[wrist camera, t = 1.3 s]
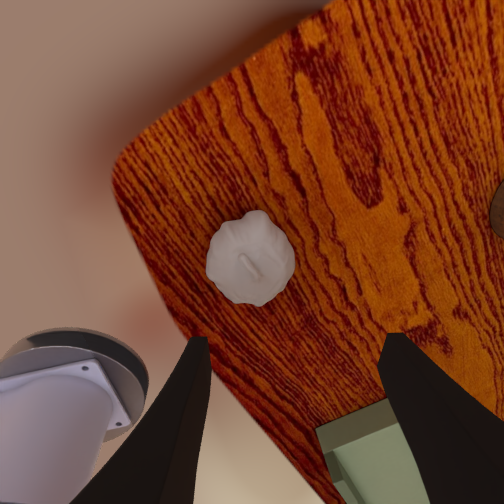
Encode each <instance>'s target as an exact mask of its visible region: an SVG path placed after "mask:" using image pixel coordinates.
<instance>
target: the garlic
mask: <svg viewBox="0 0 504 504" xmlns="http://www.w3.org/2000/svg"><path fill="white" fill-rule="evenodd" d="M294 269H295V256H294V250H293V248H292V246H291V244H290V243H289V242H288V239H287V237H286V235H285V233H284V232H283V231H282V230H280V229H279V228H278V227H277V226H276V225H274V224H273V223H272V221H271V220H270V219H269V216H268V215H267V214H266V213H265V212H264V211H262V210H255V211H250V212H247V213H246V214H245V216H244V217H243V218H242V219H240V220H234V221H226V222H224V223H223V224H222V225H221V228H220V230H218V231H217V232H216V233H215V234H214V235H213V237H212V239H211V241H210V249H209V251H208V253H207V264H206V275H207V277H208V278H209V279H210V280H212V281H213V282H215V285H216V287H217V288H218V289H219V290H220V291H221V292H223V294H224V295H225V296H226V297H227V298H229V299H230V300H231V301H232V302H234V303H236V304H239V303H249V304H254V305H255V306H262V305H264V304H265V303H266V302H268V301H270V300H272V299H273V298H274V297H275V296H276V295H277V294H278V293H279V292H281V291H283V290H284V288H285V286H286V284H287V282H288V280H289V279H290V278H291V276H292V275H293V272H294Z"/></svg>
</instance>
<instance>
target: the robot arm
mask: <svg viewBox="0 0 504 504" xmlns="http://www.w3.org/2000/svg"><path fill="white" fill-rule="evenodd" d="M85 366H87V367H85ZM377 368H378V371H379V375H380V378H381V381H382V385H383V388H384V391H385V393H386V396H387V398H388V400H389V403H390V405H391V407H392V410H393V412H394V414H395V416H396V419H397V421H398V423H399V425H400V427H401V430H402V432H403V434H404V436H405V439H406V441H407V443H408V445H409V448H410V450H411V452H412V455H413V457H414V459H415V462H416V464H417V467H418V470H419V473H420V476H421V478H422V481H423V484H424V487H425V490H426V493H427V496H428V499H429V502H430V504H504V422H503V421H502V420H501V419H500V418H498V417H497V416H496V415H494V414H493V413H492V412H491V411H489V410H488V409H487V408H486V407H484V406H483V405H482V404H481V403H480V402H478V401H477V400H476V399H475V398H474V397H472V396H471V395H470V394H469V393H468V392H466V391H465V390H464V389H463V388H462V387H461V386H460V385H458V384H457V383H456V382H455V381H454V380H453V379H452V378H451V377H449V376H448V375H447V374H446V373H445V372H444V371H443V370H442V369H441V368H440V367H439V366H438V365H436V364H435V363H434V362H433V361H432V360H431V359H430V358H429V357H428V356H427V355H426V354H425V353H424V352H423V351H422V350H421V349H420V348H419V347H418V346H417V345H415V344H414V343H413V342H412V341H411V340H410V339H409V338H408V337H407V336H406V335H405V334H404V333H387V337H386V340H385V343H384V346H383V349H382V352H381V355H380V359H379V362H378V365H377ZM211 373H212V368H211V361H210V353H209V346H208V339H207V337H191V338H190V339H189V341H188V343H187V346H186V348H185V350H184V352H183V354H182V355H181V357H180V359H179V361H178V363H177V365H176V366H175V368H174V370H173V372H172V373H171V375H170V377H169V378H168V380H167V382H166V384H165V385H164V387H163V388H162V390H161V391H160V393H159V395H158V396H157V397H156V399H155V401H154V402H153V404H152V405H151V407H150V408H149V409H148V411H147V412H146V414H145V415H144V416H143V418H142V419H141V420H140V422H139V423H138V425H137V426H136V427H135V429H134V430H133V431H132V432H131V434H130V435H129V436H128V438H127V439H126V440H125V441H124V442H123V444H122V445H121V446H120V448H119V449H118V450H117V451H116V452H115V453H114V455H113V456H112V457H111V458H110V459H109V461H108V462H107V463H106V464H105V465H104V466H103V467H102V469H101V470H100V471H99V472H98V473H97V474H96V475H95V476H94V477H93V478H92V480H91V477H92V474H93V471H94V468H95V465H96V462H97V458H98V455H99V452H100V449H101V446H102V443H103V440H104V437H105V434H106V431H107V430H111V429H115V428H120V427H124V426H127V425H129V424H130V422H131V417H130V416H129V414H128V412H127V410H126V408H125V407H124V405H123V403H122V401H121V399H120V398H119V396H118V394H117V392H116V391H115V389H114V387H113V385H112V383H111V382H110V380H109V378H108V376H107V375H106V373H105V371H104V369H103V367H102V366H101V364H100V362H99V361H98V360H96V359H88V360H84V361H79V362H74V363H70V364H65V365H61V366H56V367H52V368H47V369H43V370H38V371H33V372H29V373H24V374H20V375H15V376H11V377H6V378H2V379H0V504H193V501H194V491H195V480H196V471H197V463H198V457H199V452H200V446H201V441H202V435H203V430H204V424H205V419H206V414H207V408H208V402H209V396H210V385H211ZM90 480H91V481H90Z"/></svg>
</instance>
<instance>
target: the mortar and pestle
mask: <svg viewBox="0 0 504 504" xmlns="http://www.w3.org/2000/svg"><path fill="white" fill-rule="evenodd" d="M490 222H491V226H492V228H493V230H494V231H495V232H496V234H498V235H499V236H500V237H502V238H503V239H504V181H503V182H502V184H501V185H500V187H499V189H498V190H497V192H496V194H495V196H494V199H493V201H492V205H491V210H490Z"/></svg>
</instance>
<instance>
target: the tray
mask: <svg viewBox="0 0 504 504" xmlns="http://www.w3.org/2000/svg"><path fill="white" fill-rule="evenodd" d="M315 430H316V433H317V436H318V439H319V442H320V445H321V448H322V451H323V454H324V457H325V460H326V463H327V466H328V469H329V472H330V475H331V478H332V481H333V484H334V485H335V487H336V488H337V490H338V491H339V493H340V494H341V496H342V497H343V499H344V500H345V501H346V503H347V504H430V502H429V499H428V496H427V493H426V490H425V487H424V484H423V481H422V478H421V476H420V473H419V470H418V467H417V464H416V462H415V459H414V457H413V455H412V452H411V450H410V448H409V445H408V443H407V441H406V439H405V436H404V434H403V432H402V430H401V427H400V425H399V423H398V421H397V419H396V416H395V414H394V412H393V410H392V407H391V405H390V403H389V400H388V398H386V399H384V400H381V401H379V402H377V403H374V404H372V405H370V406H367V407H365V408H363V409H360V410H358V411H355V412H353V413H351V414H348V415H346V416H344V417H341V418H339V419H337V420H334V421H332V422H329V423H327V424H325V425H322V426H320V427H318V428H316V429H315Z"/></svg>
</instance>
